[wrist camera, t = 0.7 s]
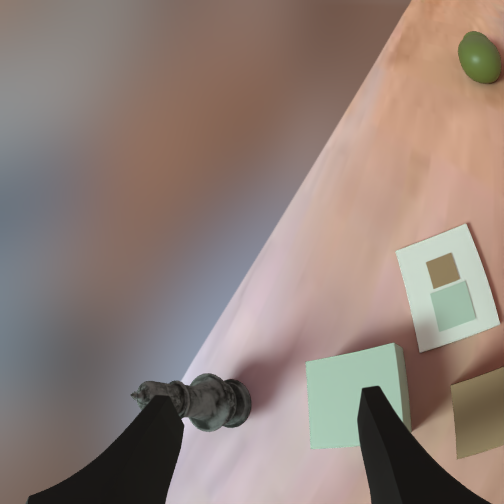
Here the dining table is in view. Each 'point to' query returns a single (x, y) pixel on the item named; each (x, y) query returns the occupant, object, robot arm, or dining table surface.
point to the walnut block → (479, 413)
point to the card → (447, 289)
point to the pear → (479, 58)
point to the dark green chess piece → (202, 400)
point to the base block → (352, 392)
